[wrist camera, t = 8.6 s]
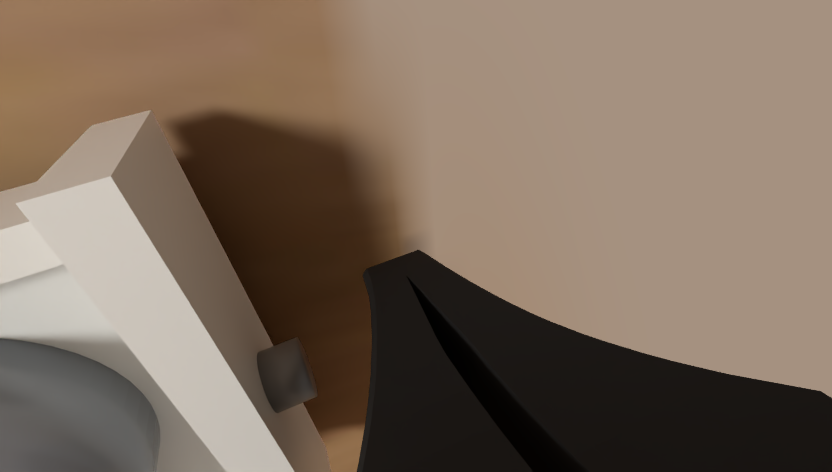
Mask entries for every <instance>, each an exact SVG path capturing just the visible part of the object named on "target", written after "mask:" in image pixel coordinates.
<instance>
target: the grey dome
mask: <svg viewBox="0 0 832 472" xmlns="http://www.w3.org/2000/svg"><path fill="white" fill-rule="evenodd" d="M159 447H160V426H159V422H158V418H157V415H156V413H155V411H154V409H153V407H152V405H151V404H150V402H149V401H148V400H147V398H146V397H145V396H144V394H143V393H142V392H141V391H140V390H139V389H138V388H137V387H136V386H135V385H134V384H132V383H131V382H130V381H129V380H128V379H126V378H125V377H123V376H122V375H120V374H119V373H118V372H116V371H115V370H113V369H111V368H109V367H107V366H105V365H103V364H101V363H99V362H97V361H95V360H92V359H90V358H87V357H85V356H82V355H80V354H77V353H74V352H71V351H67V350H64V349H60V348H57V347H53V346H49V345H44V344H39V343H33V342H28V341H21V340H12V339H2V338H0V472H156V469H157V462H158V455H159Z"/></svg>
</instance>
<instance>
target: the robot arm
mask: <svg viewBox="0 0 832 472" xmlns="http://www.w3.org/2000/svg"><path fill="white" fill-rule="evenodd" d="M363 278H364V281H365V285H366V288H367V291H368V294H369V299H370V308H371V325H372V355H371V377H370V389H369V399H368V407H367V415H366V422H365V429H364V435H363V441H362V447H361V452H360V458H359V464H358V469H357V472H832V398H831V397H829V396H827V395H826V394H824V393H823V392H821V391H816V390H811V389H806V388H800V387H795V386H789V385H784V384H778V383H773V382H767V381H762V380H757V379H751V378H746V377H740V376H735V375H729V374H725V373H721V372H716V371H712V370H707V369H703V368H699V367H695V366H691V365H687V364H682V363H678V362H674V361H670V360H666V359H663V358H659V357H655V356H652V355H647V354H644V353H640V352H637V351H634V350H631V349H628V348H624V347H621V346H618V345H615V344H611V343H608V342H605V341H602V340H599V339H596V338H593V337H590V336H587V335H584V334H581V333H579V332H576V331H574V330H571V329H568V328H566V327H563V326H561V325H558V324H556V323H553V322H550V321H548V320H546V319H543V318H541V317H538V316H536V315H534V314H532V313H530V312H527V311H526V310H523V309H521V308H519V307H517V306H515V305H513V304H511V303H509V302H507V301H505V300H503V299H501V298H499V297H497V296H495V295H493V294H492V293H490V292H488V291H486V290H485V289H483V288H481V287H479V286H477V285H476V284H474V283H472V282H470V281H468V280H467V279H465V278H463V277H462V276H460V275H458V274H457V273H455V272H453V271H452V270H450V269H449V268H447V267H445V266H444V265H442V264H441V263H439V262H438V261H436V260H434V259H433V258H431V257H430V256H428V255H427V254H425V253H424V252H422V251H420V250H417V251H414V252H411V253H408V254H406V255H403V256H400V257H398V258H395V259H392V260H389V261H387V262H384V263H381V264H378V265H376V266H373V267H370V268H368V269H366V270H365V272H364V273H363Z"/></svg>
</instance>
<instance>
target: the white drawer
mask: <svg viewBox="0 0 832 472" xmlns="http://www.w3.org/2000/svg"><path fill="white" fill-rule="evenodd" d="M0 338H2V339H12V340H21V341H28V342H33V343H39V344H44V345H49V346H53V347H57V348H60V349H64V350H67V351H71V352H74V353H77V354H80V355H82V356H85V357H87V358H90V359H92V360H95V361H97V362H99V363H101V364H103V365H105V366H107V367H109V368H111V369H113V370H115V371H116V372H118V373H119V374H120V375H122V376H123V377H125V378H126V379H128V380H129V381H130V382H131V383H132V384H134V385H135V386H136V387H137V388H138V389H139V390H140V391H141V392H142V393H143V394H144V396H145V397H146V398H147V400H148V401H149V402H150V404H151V405H152V407H153V409H154V411H155V413H156V415H157V418H158V422H159V426H160V447H159V455H158V462H157V469H156V472H331V468H330V464H329V459H328V454H327V449H326V446H325V444H324V443H323V441H322V439H321V437H320V435H319V433H318V431H317V429H316V427H315V425H314V423H313V421H312V419H311V417H310V415H309V414H308V412H307V410H306V408H305V406H304V404H303V402H306V401H308V400H311V399H313V398H315V397H317V395H318V394H317V387H316V383H315V379H314V375H313V372H312V369H311V366H310V363H309V360H308V357H307V355H306V352H305V350H304V347H303V345H302V343H301V341H300V340H299V338H298V337H296V338H293V339H290V340H288V341H285V342H283V343H280V344H278V345H275V346H273V344H272V342H271V340H270V338H269V336H268V334H267V332H266V330H265V328H264V326H263V325H262V323H261V321H260V319H259V317H258V315H257V313H256V311H255V309H254V307H253V305H252V303H251V301H250V299H249V297H248V296H247V294H246V292H245V290H244V288H243V286H242V284H241V282H240V280H239V278H238V276H237V274H236V272H235V270H234V268H233V267H232V265H231V263H230V261H229V259H228V257H227V255H226V253H225V251H224V249H223V247H222V245H221V243H220V241H219V239H218V238H217V236H216V234H215V232H214V230H213V228H212V226H211V224H210V222H209V220H208V218H207V216H206V214H205V212H204V210H203V208H202V207H201V205H200V203H199V201H198V199H197V197H196V195H195V193H194V191H193V189H192V187H191V185H190V183H189V181H188V179H187V178H186V176H185V174H184V172H183V170H182V168H181V166H180V164H179V162H178V160H177V158H176V156H175V154H174V152H173V150H172V149H171V147H170V145H169V143H168V141H167V139H166V137H165V135H164V133H163V131H162V129H161V127H160V125H159V123H158V121H157V120H156V118H155V116H154V114H153V112H152V110H149V111H145V112H141V113H137V114H133V115H129V116H126V117H122V118H118V119H114V120H110V121H106V122H103V123H99V124H95V125H91V126H90V127H89V128H88V129H87V130H86V131H85V132H84V134H83V135H82V136H81V137H80V138H79V139H78V140H77V141H76V142H75V143H74V144H73V145H72V146H71V147H70V148H69V149H68V150H67V151H66V152H65V153H64V154H63V155H62V156H61V157H60V158H59V159H58V160H57V161H56V162H55V163H54V164H53V165H52V166H51V167H50V168H49V169H48V171H47V172H46V173H45V174H44V175H43V176H42V177H41V178H40V179H39V180H38V181H37V182H34V183H30V184H27V185H23V186H19V187H16V188H12V189H9V190H5V191H1V192H0Z"/></svg>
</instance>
